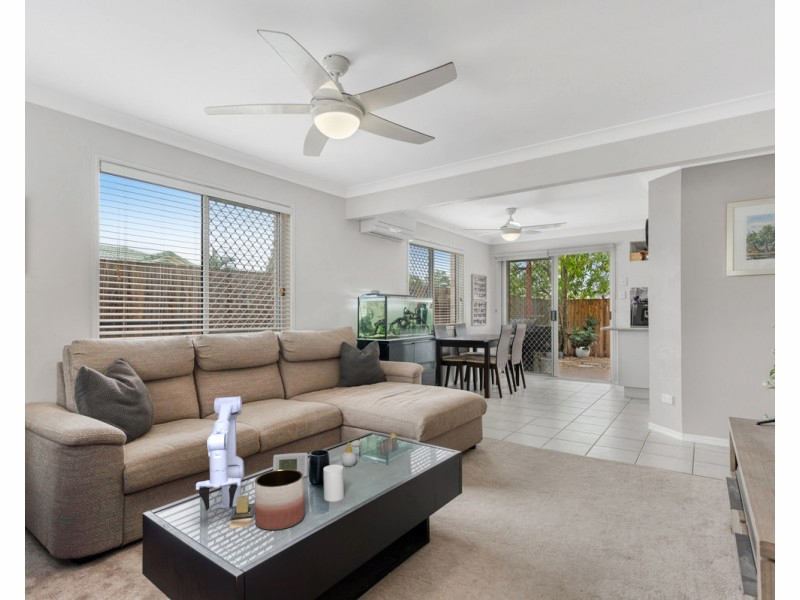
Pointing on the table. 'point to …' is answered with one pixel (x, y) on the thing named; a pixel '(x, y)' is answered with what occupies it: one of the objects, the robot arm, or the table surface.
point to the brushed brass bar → (242, 504)
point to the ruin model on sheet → (388, 445)
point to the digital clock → (291, 462)
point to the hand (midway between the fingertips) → (219, 507)
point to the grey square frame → (243, 516)
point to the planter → (279, 499)
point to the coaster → (240, 523)
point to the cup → (333, 483)
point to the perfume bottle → (350, 454)
